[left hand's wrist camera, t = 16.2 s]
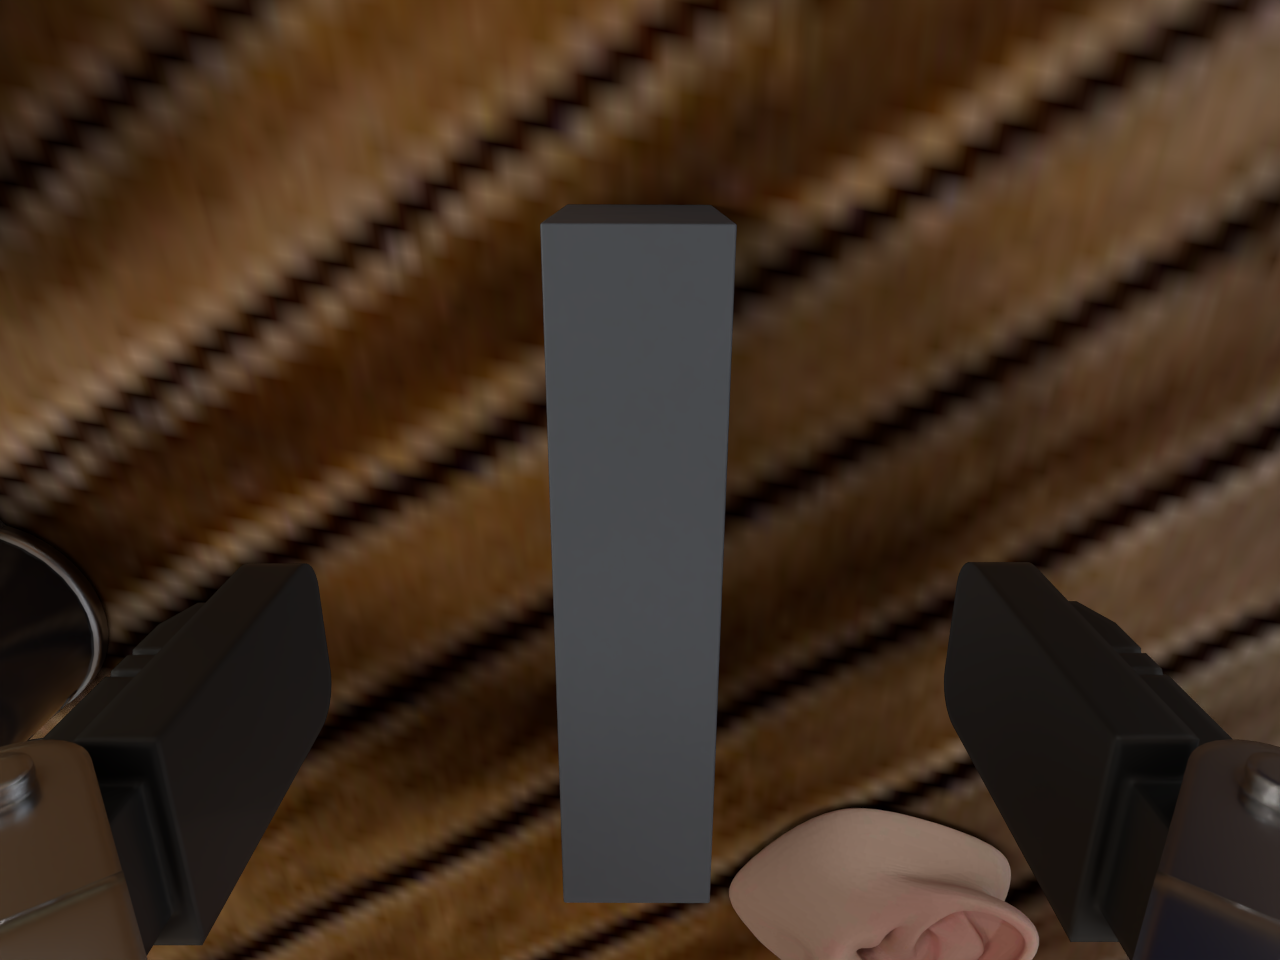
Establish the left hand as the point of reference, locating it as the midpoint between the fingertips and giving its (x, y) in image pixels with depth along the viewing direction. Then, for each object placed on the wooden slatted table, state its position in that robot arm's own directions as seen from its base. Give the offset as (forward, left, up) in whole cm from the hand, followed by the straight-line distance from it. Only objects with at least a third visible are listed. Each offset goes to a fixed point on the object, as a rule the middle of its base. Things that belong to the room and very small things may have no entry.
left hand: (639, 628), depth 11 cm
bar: (+8, -4, -25) cm, 27 cm away
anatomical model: (+32, -3, -25) cm, 41 cm away
